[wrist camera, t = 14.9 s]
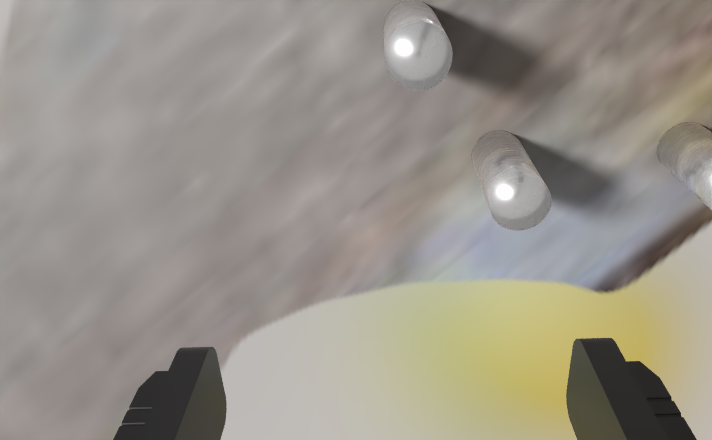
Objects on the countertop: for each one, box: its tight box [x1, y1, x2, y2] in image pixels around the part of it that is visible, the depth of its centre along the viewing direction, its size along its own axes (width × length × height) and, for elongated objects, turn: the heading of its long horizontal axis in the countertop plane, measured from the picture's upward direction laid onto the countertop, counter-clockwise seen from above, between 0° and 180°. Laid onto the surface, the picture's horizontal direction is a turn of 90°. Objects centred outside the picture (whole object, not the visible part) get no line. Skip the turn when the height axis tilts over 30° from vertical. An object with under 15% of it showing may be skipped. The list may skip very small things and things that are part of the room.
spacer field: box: [384, 0, 712, 230], centre depth 35 cm, size 22×23×8 cm
